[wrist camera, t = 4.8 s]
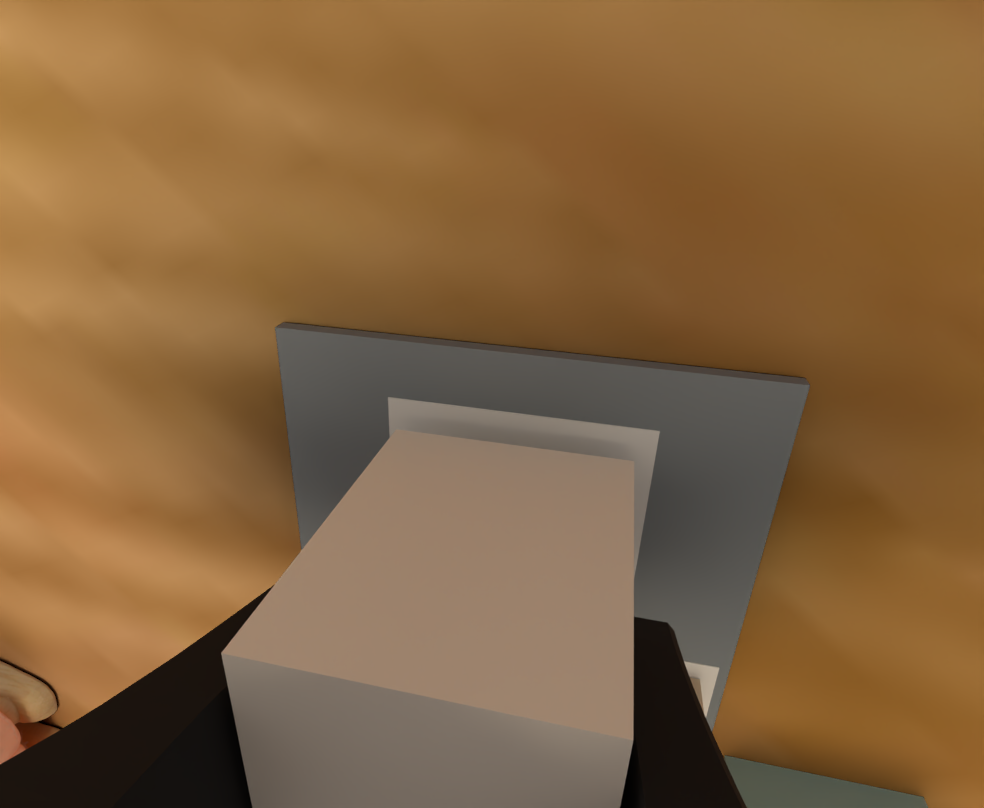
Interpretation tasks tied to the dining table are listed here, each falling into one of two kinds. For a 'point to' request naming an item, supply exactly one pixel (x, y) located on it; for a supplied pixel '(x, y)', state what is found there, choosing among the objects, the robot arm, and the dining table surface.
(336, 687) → the cream block
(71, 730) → the robot arm
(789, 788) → the teal block
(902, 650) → the dining table surface
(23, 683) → the grandmother figurine
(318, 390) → the slate mat
